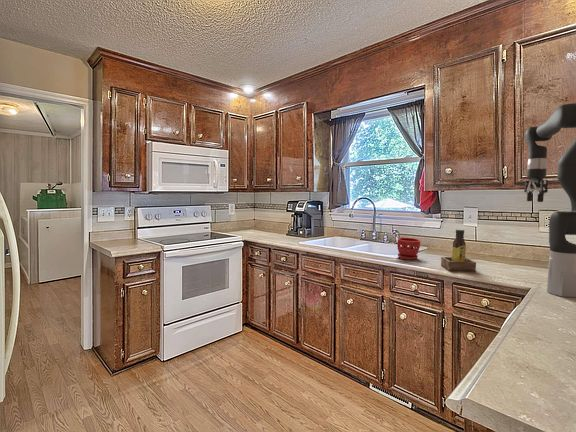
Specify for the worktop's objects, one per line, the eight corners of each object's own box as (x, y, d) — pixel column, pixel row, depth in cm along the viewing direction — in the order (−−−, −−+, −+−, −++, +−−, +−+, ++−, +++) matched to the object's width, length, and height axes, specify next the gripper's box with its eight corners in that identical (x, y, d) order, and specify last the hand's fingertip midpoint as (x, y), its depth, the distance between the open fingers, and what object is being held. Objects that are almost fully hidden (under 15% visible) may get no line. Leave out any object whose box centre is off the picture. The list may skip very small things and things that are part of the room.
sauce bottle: (461, 268, 168) (462, 230, 166) (449, 266, 173) (450, 229, 171) (467, 267, 172) (468, 229, 170) (455, 264, 177) (456, 228, 175)
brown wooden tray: (475, 272, 165) (476, 262, 165) (448, 271, 167) (449, 261, 167) (466, 266, 177) (466, 257, 177) (441, 265, 179) (441, 256, 179)
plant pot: (396, 259, 194) (397, 240, 194) (397, 255, 207) (397, 236, 206) (420, 261, 190) (421, 241, 189) (419, 256, 203) (419, 237, 202)
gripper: (520, 169, 165) (518, 201, 166) (537, 167, 151) (535, 202, 152) (536, 169, 164) (534, 201, 165) (555, 167, 150) (552, 202, 151)
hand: (534, 201), depth 159 cm, fingers open, 8 cm apart
